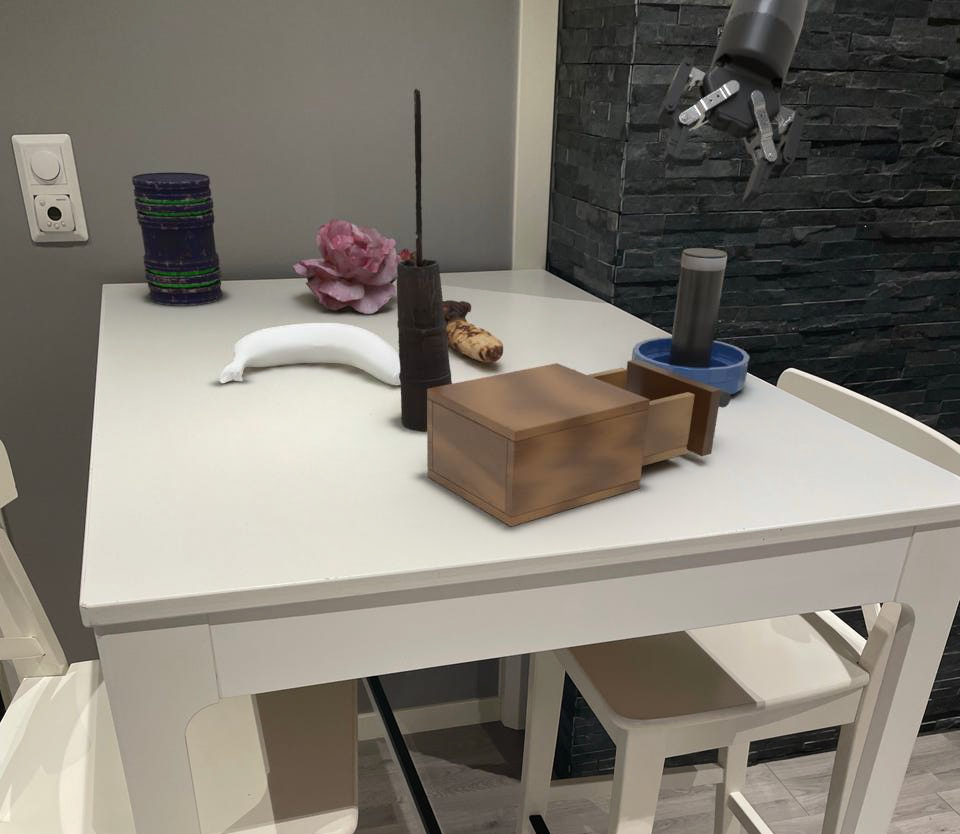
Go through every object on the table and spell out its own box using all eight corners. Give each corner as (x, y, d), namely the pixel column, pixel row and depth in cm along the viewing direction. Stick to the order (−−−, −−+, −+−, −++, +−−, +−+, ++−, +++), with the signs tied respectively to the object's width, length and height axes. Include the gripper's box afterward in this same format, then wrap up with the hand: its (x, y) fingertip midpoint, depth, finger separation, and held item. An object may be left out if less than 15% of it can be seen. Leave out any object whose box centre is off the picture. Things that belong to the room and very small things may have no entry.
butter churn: (389, 399, 99) (380, 82, 84) (481, 407, 97) (489, 86, 82) (364, 430, 91) (351, 87, 76) (464, 438, 90) (470, 91, 75)
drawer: (660, 412, 95) (668, 352, 92) (742, 444, 88) (753, 381, 85) (527, 445, 86) (530, 380, 83) (606, 484, 79) (613, 415, 76)
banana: (426, 375, 106) (346, 413, 95) (290, 355, 114) (202, 388, 103) (424, 329, 103) (342, 363, 92) (285, 312, 111) (194, 341, 100)
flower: (270, 276, 132) (283, 203, 126) (360, 278, 141) (376, 210, 135) (325, 331, 125) (342, 256, 118) (416, 330, 134) (436, 260, 128)
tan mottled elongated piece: (391, 339, 119) (443, 379, 105) (389, 300, 116) (441, 335, 102) (462, 331, 122) (521, 368, 108) (461, 292, 119) (521, 325, 105)
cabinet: (551, 445, 89) (556, 362, 85) (639, 488, 81) (650, 399, 77) (427, 476, 82) (426, 388, 78) (510, 526, 74) (515, 431, 70)
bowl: (767, 390, 104) (773, 357, 102) (688, 410, 98) (693, 376, 96) (684, 362, 113) (688, 331, 111) (606, 378, 106) (609, 346, 104)
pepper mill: (716, 381, 105) (737, 254, 98) (687, 388, 102) (706, 258, 95) (686, 370, 108) (703, 246, 101) (657, 377, 105) (673, 250, 98)
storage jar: (195, 285, 139) (181, 170, 131) (238, 297, 133) (226, 178, 125) (134, 296, 132) (115, 176, 124) (176, 309, 127) (159, 184, 119)
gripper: (709, -17, 94) (657, 134, 92) (840, 42, 95) (791, 192, 94) (682, 34, 101) (634, 174, 100) (805, 88, 103) (758, 227, 101)
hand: (710, 183), depth 97 cm, fingers open, 8 cm apart
